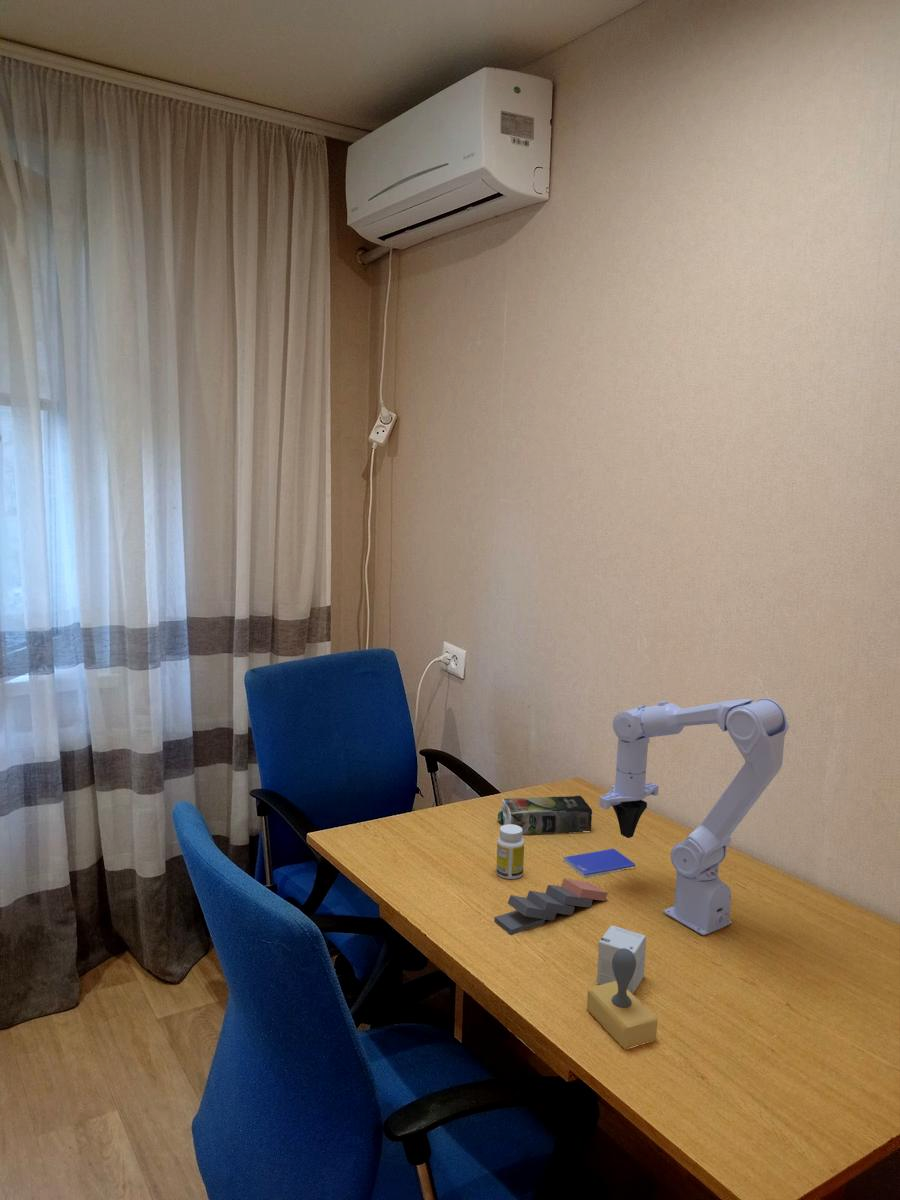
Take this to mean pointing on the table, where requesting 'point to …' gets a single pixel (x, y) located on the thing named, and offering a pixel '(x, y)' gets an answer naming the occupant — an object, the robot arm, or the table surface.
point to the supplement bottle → (510, 852)
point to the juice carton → (547, 814)
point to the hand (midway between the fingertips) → (626, 835)
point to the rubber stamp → (622, 1005)
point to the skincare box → (612, 943)
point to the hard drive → (598, 862)
